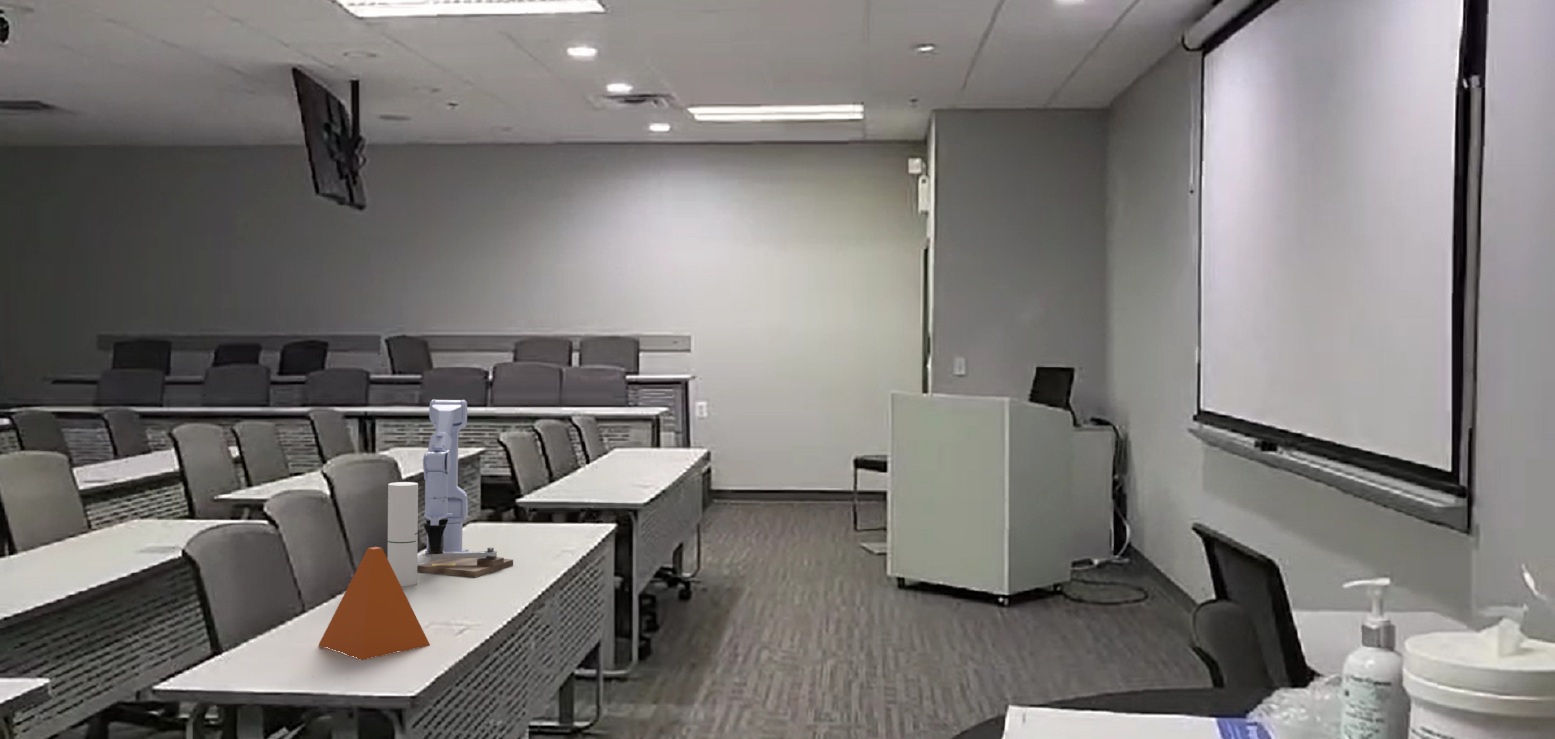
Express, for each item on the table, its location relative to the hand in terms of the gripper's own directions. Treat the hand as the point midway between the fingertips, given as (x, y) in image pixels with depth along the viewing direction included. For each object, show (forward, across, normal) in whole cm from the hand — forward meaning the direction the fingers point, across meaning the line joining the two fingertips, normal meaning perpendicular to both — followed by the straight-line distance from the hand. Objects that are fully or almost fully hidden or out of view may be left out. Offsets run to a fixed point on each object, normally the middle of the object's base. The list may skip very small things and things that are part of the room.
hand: (435, 548), depth 328 cm
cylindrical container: (+6, -15, +7) cm, 18 cm away
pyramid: (+6, -76, +8) cm, 77 cm away
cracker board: (+6, +3, -8) cm, 10 cm away
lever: (+2, 0, -7) cm, 7 cm away
